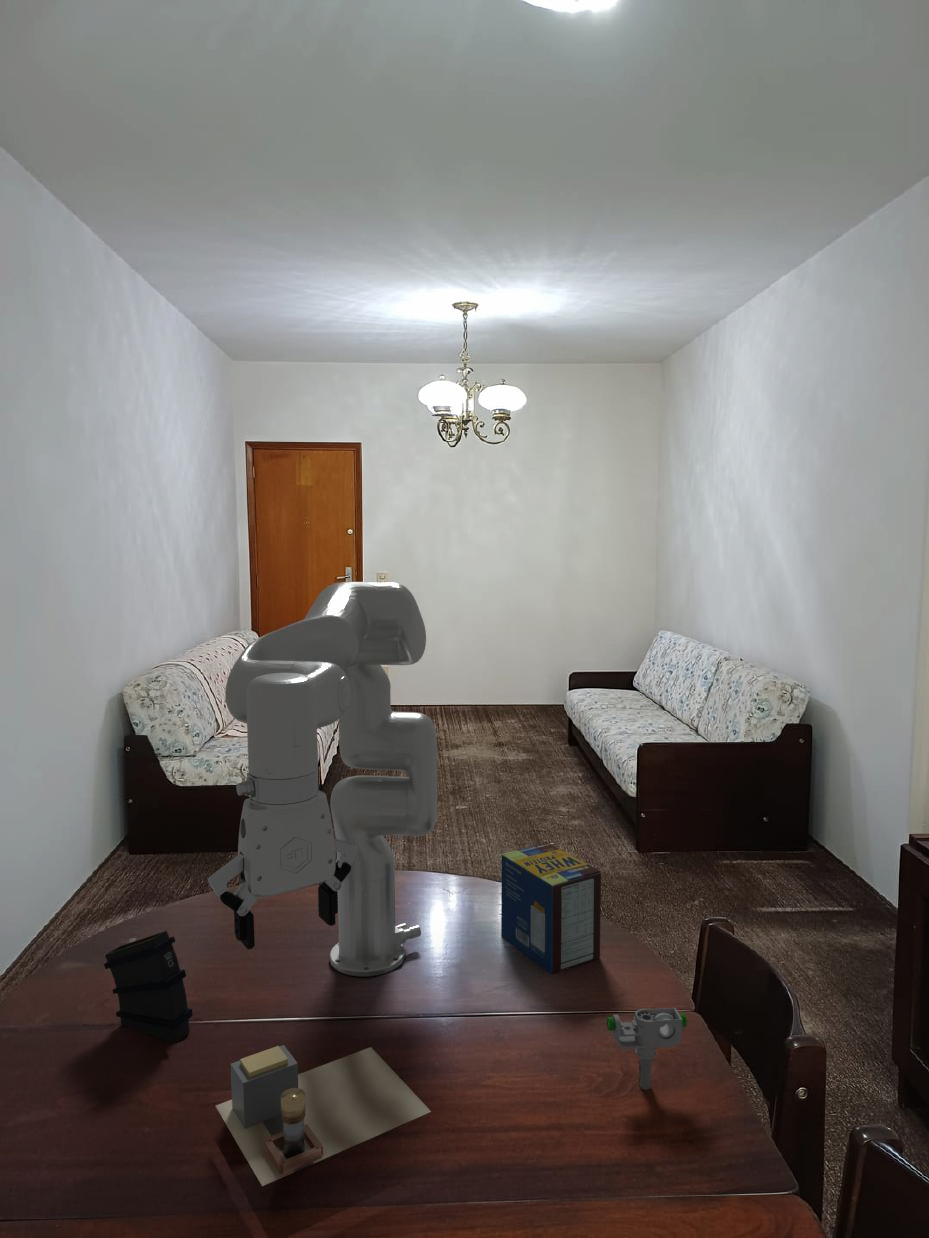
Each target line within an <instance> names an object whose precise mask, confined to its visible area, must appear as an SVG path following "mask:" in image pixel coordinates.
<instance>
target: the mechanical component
mask: <svg viewBox="0 0 929 1238" xmlns="http://www.w3.org/2000/svg"><path fill="white" fill-rule="evenodd" d="M687 1024H688V1021H687V1016H686V1014H685V1013H679V1011H678V1010H677V1007H672V1008H669V1007H667V1008H642V1009H637V1010H636V1011H635V1013H634V1016H633V1019H632V1020H631V1021H628V1022H626V1021H625V1022H623V1021H622V1020H621V1018H620V1016H619V1014H612V1015H611V1017H606V1026H607V1027H606V1028H607V1030H608V1032H609V1031H611V1033H612V1035H613V1038H614V1040H615V1042H616V1044H617V1046H618V1047H619V1049H621V1050H635V1054H636V1057H638V1058H639V1063H638V1064H639V1065H638V1069H639V1070H638V1083H639V1084H638V1085H639V1086H640V1088H641V1089H642V1090H648V1091H649V1090H650V1089H651V1087H652V1063H653V1062H652V1061H653V1059H654V1058H656V1055H657V1053H656V1048H657V1049H658V1048H672V1047H676V1046H678V1045H679V1043H680V1042H681V1039H682V1038H681V1037H682V1032H683V1028H686V1027H687Z"/></svg>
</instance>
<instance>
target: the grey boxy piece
mask: <svg viewBox="0 0 929 1238" xmlns="http://www.w3.org/2000/svg"><path fill="white" fill-rule="evenodd" d="M298 1067H299V1063H298V1061H297V1060H296V1059H295V1058H294V1056H293V1055H292V1054H291V1052H290V1051H289V1050H288V1048H287V1047H286V1045H284V1044H283V1045H280V1046H279V1045H276V1046H274V1047H271V1048H269V1049H265V1050H263V1051H260V1052H257V1053H254V1054H251V1055H248V1056H245V1057H243V1058H240V1059H239V1060H236V1061H234V1062H232V1063H230V1081H231V1082H230V1084H231V1085H230V1086H231V1087H230V1088H231V1100H232V1109H233V1110H234V1112H235V1114H236V1115H237V1117H238V1119H239V1120H240V1122H241V1124H242V1125H243V1127H244V1129H246V1128H249V1127H251V1126H254V1125H256V1124H259V1123H261V1122H264V1121H266V1120H269V1119H271V1118H274V1117H276V1116H279V1115H281V1094H282V1093H283V1092H284V1091H286V1090H288V1089H291V1088H298V1074H299V1068H298Z"/></svg>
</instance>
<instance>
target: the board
mask: <svg viewBox="0 0 929 1238" xmlns="http://www.w3.org/2000/svg"><path fill="white" fill-rule="evenodd" d="M298 1088H299V1089H302V1090H303V1091H304V1092H305V1108H306V1115H305V1118H304V1148H305V1150H304V1152H303V1153H301V1154H298V1155H296V1156H294V1157H291V1158H287V1157H286V1156H285V1155H284V1146H283V1121H282V1119H281V1115H279V1116H276V1117H274V1118H271V1119H269V1120H266V1121H264V1122H261V1123H259V1124H256V1125H254V1126H251V1127H249V1128H246V1129H244V1127H243V1125H242V1124H241V1122H240V1120H239V1119H238V1117H237V1115H236V1114H235V1112H234V1110H233V1109H232V1099H230V1100H229V1099H228V1100H227V1101H224V1102H222V1103H219V1104H216V1105H215V1108H216V1110H217V1111H218V1113H219V1115H220V1116H221V1118H222V1120H223V1121H224V1123H225V1125H226V1127H227V1128H228V1130H229V1132H230V1133H231V1135H232V1137H233V1138H234V1140H235V1142H236V1144H237V1146H238V1147H239V1150H240V1151H241V1153H242V1154H243V1156H244V1158H245V1160H246V1161H247V1162H248V1165H249V1166H250V1168H251V1169H252V1172H253V1173H254V1175H255V1177H256V1178H257V1180H258V1182H259V1184H260V1185H261V1187H264V1186H266V1185H269V1184H271V1183H274V1182H276V1181H277V1180H280V1179H283V1178H284V1177H287V1176H289V1175H291V1174H294V1173H295V1172H298V1171H301V1170H303V1169H306V1168H308V1167H310V1166H312V1165H314V1164H316V1163H319V1162H321V1161H323V1160H325V1159H328V1158H330V1157H332V1156H334V1155H337V1154H339V1153H341V1152H344V1151H346V1150H349V1149H350V1148H352V1147H355V1146H358V1145H359V1144H361V1143H364V1142H366V1141H368V1140H371V1139H373V1138H375V1137H377V1136H380V1135H382V1134H384V1133H386V1132H387V1133H388V1132H389V1131H391V1130H393V1129H396V1128H398V1127H400V1126H402V1125H405V1124H407V1123H409V1122H412V1121H414V1120H416V1119H419V1118H421V1117H423V1116H425V1115H427V1114H430V1113H432V1111H431V1110H430V1109H429V1107H428V1106H427V1105H426V1104H425V1103H424V1102H423V1101H422V1100H421V1099H420V1098H419V1097H418V1096H417V1094H415V1093H414V1091H413V1090H412V1089H411V1088H410V1087H409V1086H408V1084H406V1083H405V1081H403V1080H402V1079H401V1078H400V1077H399V1075H398V1074H397V1073H396V1072H395V1071H394V1069H392V1068H391V1067H390V1066H389V1065H388V1064H387V1062H386V1061H385V1060H384V1059H382V1057H381V1056H380V1055H379V1054H378V1053H377V1052H376V1051H375V1050H374V1049H373V1047H372V1046H369V1047H368V1048H364V1049H362V1050H360V1051H356V1052H353V1053H352V1054H349V1055H345V1056H343V1057H342V1058H338V1059H335V1060H332V1061H330V1062H328V1063H325V1064H322V1065H319V1066H316V1067H314V1068H312V1069H309V1070H306V1071H304V1072H301V1073H298Z"/></svg>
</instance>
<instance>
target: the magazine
mask: <svg viewBox="0 0 929 1238" xmlns="http://www.w3.org/2000/svg"><path fill="white" fill-rule="evenodd" d="M175 942H176V939H175V936H169V933H168V931H167V930H164V931H161V932H158V933H155V934H153V935H149V936H147V937H143V938H140V939H137V940H134V941H132V942H128V943H125V944H122V945H119V946H118V947H116V948H114V949H113V950H110V951H109V952H106V953H105V954H104V957H105V959H106V962H105V963H104V964H103V967H104V969H105V970H108V969H109V970H110V972H111V975H112V978H113V980H114V981H113V982H114V984H115V988H114V989H112V994H113V995H115V994H116V995H117V997H118V1005H119V1010H117V1011H116V1012H115V1017H116V1018H120V1024H121V1026H123V1027H125V1028H129V1029H131V1030H135V1031H137V1032H141V1033H143V1034H146V1035H149V1036H153V1037H155V1038H159V1039H160V1040H164V1041H165V1042H166V1041H167V1042H170V1043H173V1044H177V1043H178V1042H179V1041H181V1040H182V1039H184V1038H185V1037H186V1036H187V1035H188V1034H190V1031H191V1030H190V1021H189V1019H190V1018H191V1017H193V1009H192V1008H189V1007H188V1001H187V992H186V987H185V983H184V978H186V977H187V974H186V970H185V969H181V968H180V964H179V960H178V956H177V953H176V951H175V948H174V946H173V944H174V943H175Z"/></svg>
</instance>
